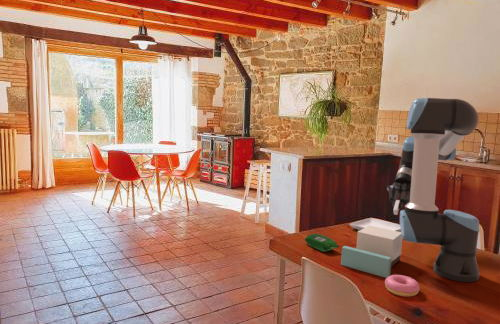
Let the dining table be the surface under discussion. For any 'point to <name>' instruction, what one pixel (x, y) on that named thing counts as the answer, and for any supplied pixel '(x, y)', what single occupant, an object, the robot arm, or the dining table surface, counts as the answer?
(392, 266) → the roller bed
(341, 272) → the dining table surface
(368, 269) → the block
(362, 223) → the salad plate
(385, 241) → the white box
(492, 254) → the dining table surface
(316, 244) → the snack package
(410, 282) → the doughnut
